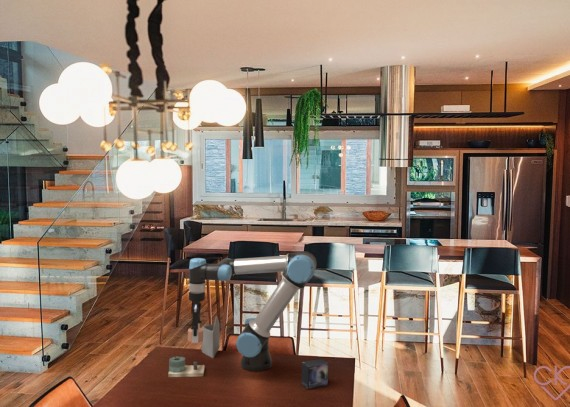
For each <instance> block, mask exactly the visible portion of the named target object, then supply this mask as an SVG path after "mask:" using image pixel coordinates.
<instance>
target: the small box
mask: <svg viewBox="0 0 570 407" xmlns="http://www.w3.org/2000/svg"><path fill="white" fill-rule="evenodd" d="M328 374H329V362H327V361H326V360H324V359H322V358H318V359H312V360H307V361H305V360H304V361H302V362H301V382H300V384H301V386H303V387H304V389H306V390H313V389H316V388H323V387H327V386H328V385H329V383H328V381H329V375H328Z"/></svg>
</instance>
